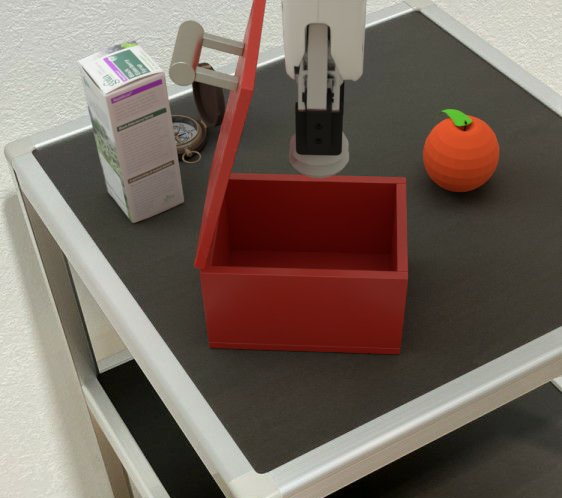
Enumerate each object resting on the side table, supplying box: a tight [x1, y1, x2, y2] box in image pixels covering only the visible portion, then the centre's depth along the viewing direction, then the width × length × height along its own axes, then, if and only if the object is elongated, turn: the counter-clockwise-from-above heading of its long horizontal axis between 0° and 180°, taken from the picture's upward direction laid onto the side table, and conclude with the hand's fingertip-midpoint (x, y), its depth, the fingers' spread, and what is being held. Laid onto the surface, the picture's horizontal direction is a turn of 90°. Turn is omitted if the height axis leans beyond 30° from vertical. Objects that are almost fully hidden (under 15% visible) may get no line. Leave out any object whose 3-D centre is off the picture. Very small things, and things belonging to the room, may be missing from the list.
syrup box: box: [77, 40, 185, 224], centre depth 86 cm, size 6×6×14 cm
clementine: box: [422, 108, 500, 193], centre depth 89 cm, size 8×7×7 cm
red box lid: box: [168, 0, 267, 270], centre depth 69 cm, size 16×12×5 cm
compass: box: [171, 61, 226, 165], centre depth 93 cm, size 8×8×7 cm
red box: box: [199, 172, 409, 355], centre depth 79 cm, size 16×12×9 cm
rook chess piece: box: [288, 60, 350, 178], centre depth 68 cm, size 4×4×8 cm
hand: (320, 131), depth 69 cm, fingers closed on rook chess piece, 3 cm apart
